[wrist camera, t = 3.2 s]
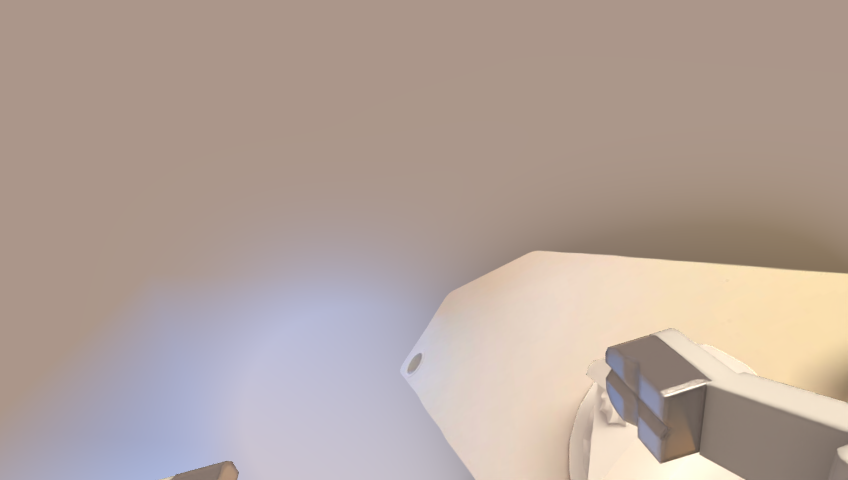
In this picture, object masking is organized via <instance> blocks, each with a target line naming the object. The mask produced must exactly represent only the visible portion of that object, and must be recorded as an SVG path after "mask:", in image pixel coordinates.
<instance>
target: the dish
mask: <svg viewBox="0 0 848 480" xmlns="http://www.w3.org/2000/svg"><path fill="white" fill-rule="evenodd" d="M696 344H697V345H699V346H700V347H702V348H703V349H704V350H706V351H707V352H708V353H710V354H711V355H712V356H714V357H715V358H717V359H718V360H719V361H721V362H722V363H723V364H725V365H726V366H728V367H729V368H730V369H732V370H733V371H734V372H736V373H737V374H739V373H742V372H746V373H750V374H753V375H757V374H756V373H755V372H754V371H753V370H752V369H751V368H750V367H748V366H747V365H746V364H745V363H743V362H741V361H739V360H737V359H735V358H733V357H732V356H730V355H728V354H726V353H724V352H722V351H720V350H718V349H717V348H715V347H713V346H711V345H705V344H698V343H696ZM610 370H611V368H610V367H609V365H608V364H607V363H606V362H605V357H604V358H600V359H597V360H595V361H593V362H592V363H591V364H590V365H589V367H588V370H587V373H586V375H587V376H589V377H590V378H591V379H592V380H594V383H593V385H592V386H591V388H590V390H589V391H588V393H587V395H586V396H585V398H584V400H583V401H582V403H581V405H580V406H579V408H578V412H577V415H576V419H575V422H574V426H573V429H572V433H571V436H570V458H569V473H570V477H571V480H745V479H743V478H741V477H739V476H737V475H736V474H734V473H732V472H730V471H728V470H726V469H725V468H723V467H721V466H719V465H717V464H715V463H714V462H712V461H710V460H708V459H706V458H704V457H703V456H701V455H699V452H698V453H695V454H692V455H688V456H685V457H682V458H678V459H675V460H672V461H668V462H665V463H662V464H660V463H659V462H658V461H657V460H656V458H655V457H654V456H653V455H652V454H651V453H650V451H649V450H648V449H647V448H646V447H645V446H644V444H643V443H642V442H641V441H640V440H639V438H638V433H637V427H636V426H634V425H632V424H630V423H627V422H625V421H623V419H622V418H621V417H620V416H619V414H618V413H617V412H616V410H615V409H614V407H613V405H612V404H611V402H610V399H609V396H608V393H607V390H606V377H607V375H608V374H609V372H610Z"/></svg>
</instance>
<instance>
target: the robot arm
mask: <svg viewBox="0 0 848 480" xmlns="http://www.w3.org/2000/svg"><path fill="white" fill-rule="evenodd" d="M605 362H606V363H607V364H608V365H609V367H610V368H611V370H610V372H609V374H608V375H607V377H606V390H607V393H608V396H609V399H610V402H611V404H612V405H613V407H614V409H615V410H616V412H617V413H618V414H619V416H620V417H621V418H622V419H623V421H625V422H627V423H630V424H632V425H634V426H636V427H637V433H638V438H639V440H640V441H641V442H642V443H643V444H644V446H645V447H646V448H647V449H648V450H649V451H650V453H651V454H652V455H653V456H654V457H655V458H656V460H657V461H658V462H659V463H660V464H662V463H665V462H668V461H672V460H675V459H678V458H682V457H685V456H688V455H692V454H695V453H698V452H699V455H701V456H703V457H704V458H706V459H708V460H710V461H712V462H714V463H715V464H717V465H719V466H721V467H723V468H725V469H726V470H728V471H730V472H732V473H734V474H736V475H737V476H739V477H741V478H743V479H745V480H848V403H847V402H844V401H841V400H837V399H834V398H831V397H827V396H824V395H820V394H817V393H814V392H810V391H807V390H804V389H800V388H797V387H794V386H790V385H787V384H783V383H780V382H777V381H773V380H770V379H767V378H763V377H760V376H757V375H753V374H750V373H746V372H742V373H739V374H737V373H736V372H734V371H733V370H732V369H730V368H729V367H728V366H726V365H725V364H723V363H722V362H721V361H719V360H718V359H717V358H715V357H714V356H712V355H711V354H710V353H708V352H707V351H706V350H704V349H703V348H702V347H700V346H699V345H697V344H696V343H695V342H693V341H692V340H691V339H689V338H688V337H686V336H685V335H684V334H682V333H681V332H680V331H678V330H676V329H672V328H669V329H666V330H663V331H659V332H656V333H653V334H650V335H649V336H644V337H640V338H637V339H634V340H631V341H627V342H624V343H621V344H618V345H614V346H611V347H608V349H607V351H606V357H605ZM238 474H239V472H238V470H237V469H236V467H235V465H234V464H233V462H232V461H225V462H221V463H218V464H214V465H210V466H207V467H203V468H199V469H195V470H192V471H188V472H185V473H180V474H177V475H175V476H172V477H168V478H164V479H160V480H237V478H238Z"/></svg>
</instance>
